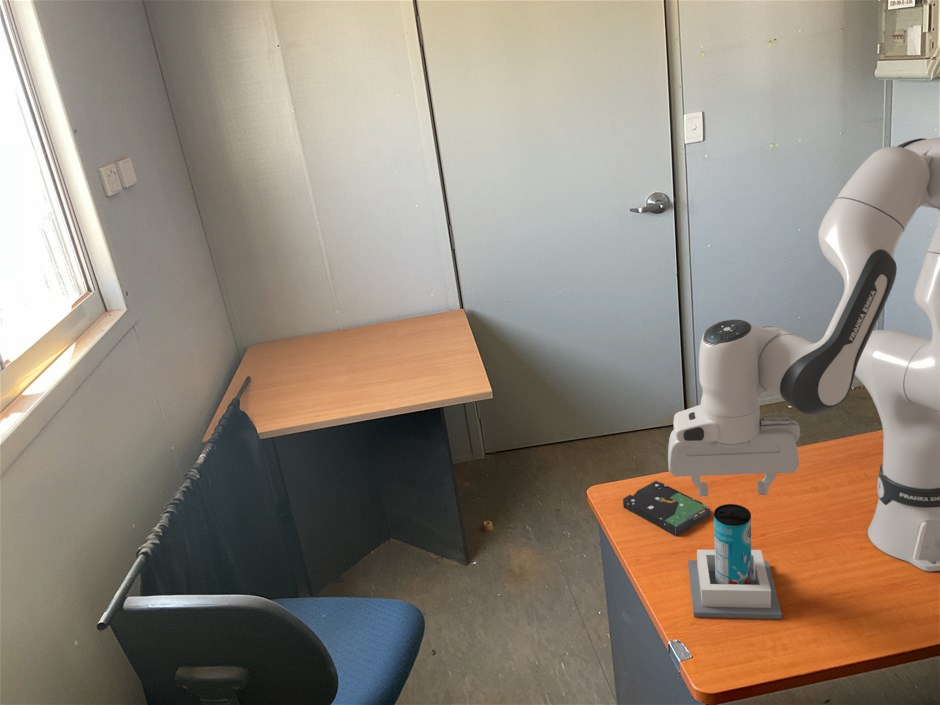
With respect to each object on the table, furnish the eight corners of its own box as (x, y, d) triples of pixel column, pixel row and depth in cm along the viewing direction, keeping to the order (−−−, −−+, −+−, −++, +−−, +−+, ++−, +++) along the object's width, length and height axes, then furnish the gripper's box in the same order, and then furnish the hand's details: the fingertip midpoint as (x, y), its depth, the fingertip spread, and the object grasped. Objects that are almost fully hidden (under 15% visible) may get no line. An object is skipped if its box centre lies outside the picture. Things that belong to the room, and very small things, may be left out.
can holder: (768, 565, 140) (768, 544, 138) (781, 619, 127) (782, 597, 125) (688, 564, 143) (687, 544, 141) (694, 617, 130) (693, 595, 129)
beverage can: (747, 600, 131) (747, 526, 125) (712, 593, 134) (710, 520, 128) (754, 579, 135) (754, 507, 130) (719, 572, 138) (718, 501, 133)
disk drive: (622, 510, 163) (677, 539, 151) (621, 499, 162) (676, 527, 150) (656, 490, 168) (711, 516, 156) (655, 479, 167) (711, 505, 155)
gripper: (796, 407, 123) (795, 481, 128) (664, 414, 128) (669, 485, 133) (804, 426, 117) (803, 503, 122) (666, 433, 122) (671, 506, 127)
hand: (732, 493), depth 128 cm, fingers open, 8 cm apart
